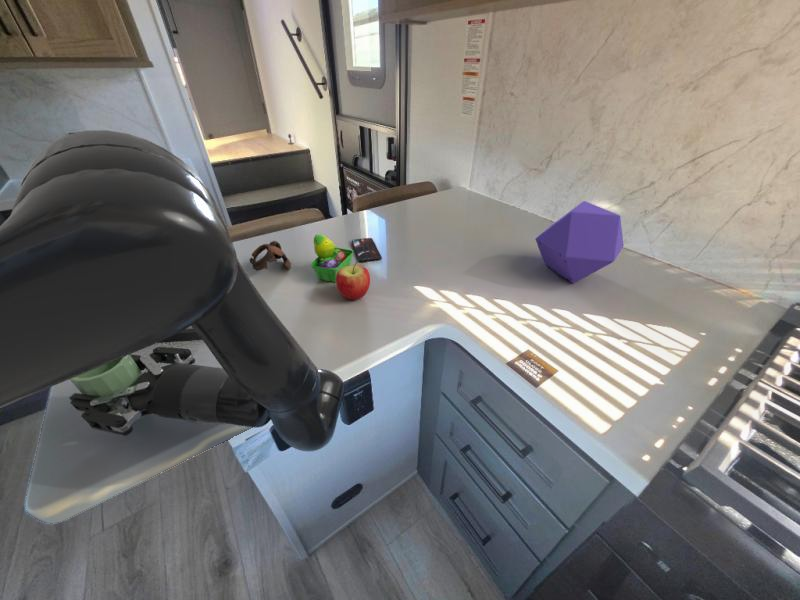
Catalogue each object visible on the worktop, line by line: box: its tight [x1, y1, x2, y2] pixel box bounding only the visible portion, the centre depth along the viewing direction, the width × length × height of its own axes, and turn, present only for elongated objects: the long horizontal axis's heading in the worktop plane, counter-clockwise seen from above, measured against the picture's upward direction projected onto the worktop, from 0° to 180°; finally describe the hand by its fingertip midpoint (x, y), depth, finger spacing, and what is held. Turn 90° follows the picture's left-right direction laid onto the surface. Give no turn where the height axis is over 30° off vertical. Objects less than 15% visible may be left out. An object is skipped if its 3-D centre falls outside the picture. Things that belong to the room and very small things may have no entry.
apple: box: [335, 259, 371, 300], centre depth 78 cm, size 8×8×10 cm
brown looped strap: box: [248, 240, 292, 271], centre depth 90 cm, size 12×10×8 cm
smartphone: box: [351, 237, 383, 263], centre depth 101 cm, size 7×1×15 cm
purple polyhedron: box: [535, 200, 625, 285], centre depth 87 cm, size 22×20×20 cm
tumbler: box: [69, 354, 143, 420], centre depth 47 cm, size 7×7×10 cm
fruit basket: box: [310, 234, 354, 283], centre depth 86 cm, size 11×9×11 cm
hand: (99, 379), depth 47 cm, fingers closed on tumbler, 6 cm apart
